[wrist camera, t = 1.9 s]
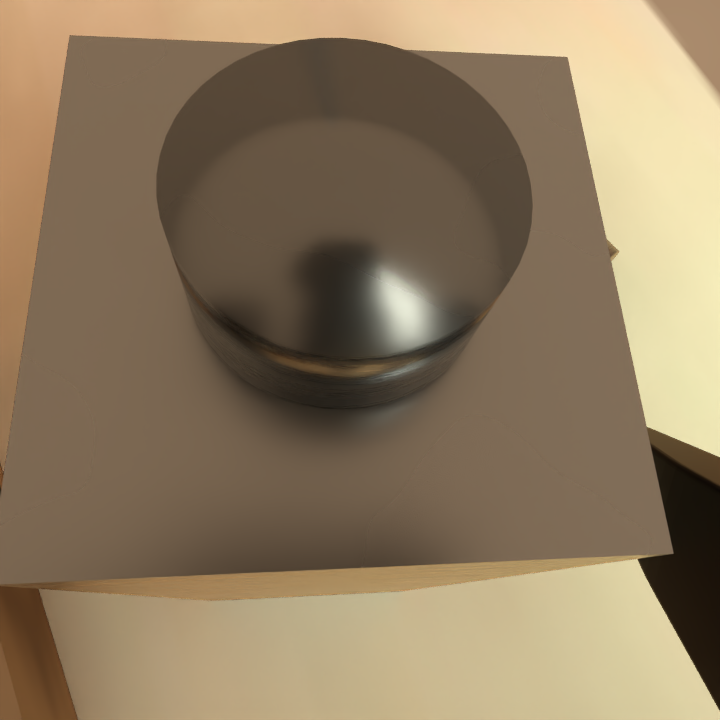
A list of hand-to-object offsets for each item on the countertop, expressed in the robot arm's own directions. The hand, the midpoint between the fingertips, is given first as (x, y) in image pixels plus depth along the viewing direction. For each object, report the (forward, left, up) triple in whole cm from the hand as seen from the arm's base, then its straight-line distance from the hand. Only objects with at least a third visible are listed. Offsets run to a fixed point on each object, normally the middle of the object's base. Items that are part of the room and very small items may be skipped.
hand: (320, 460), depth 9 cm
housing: (+1, 0, -9) cm, 9 cm away
